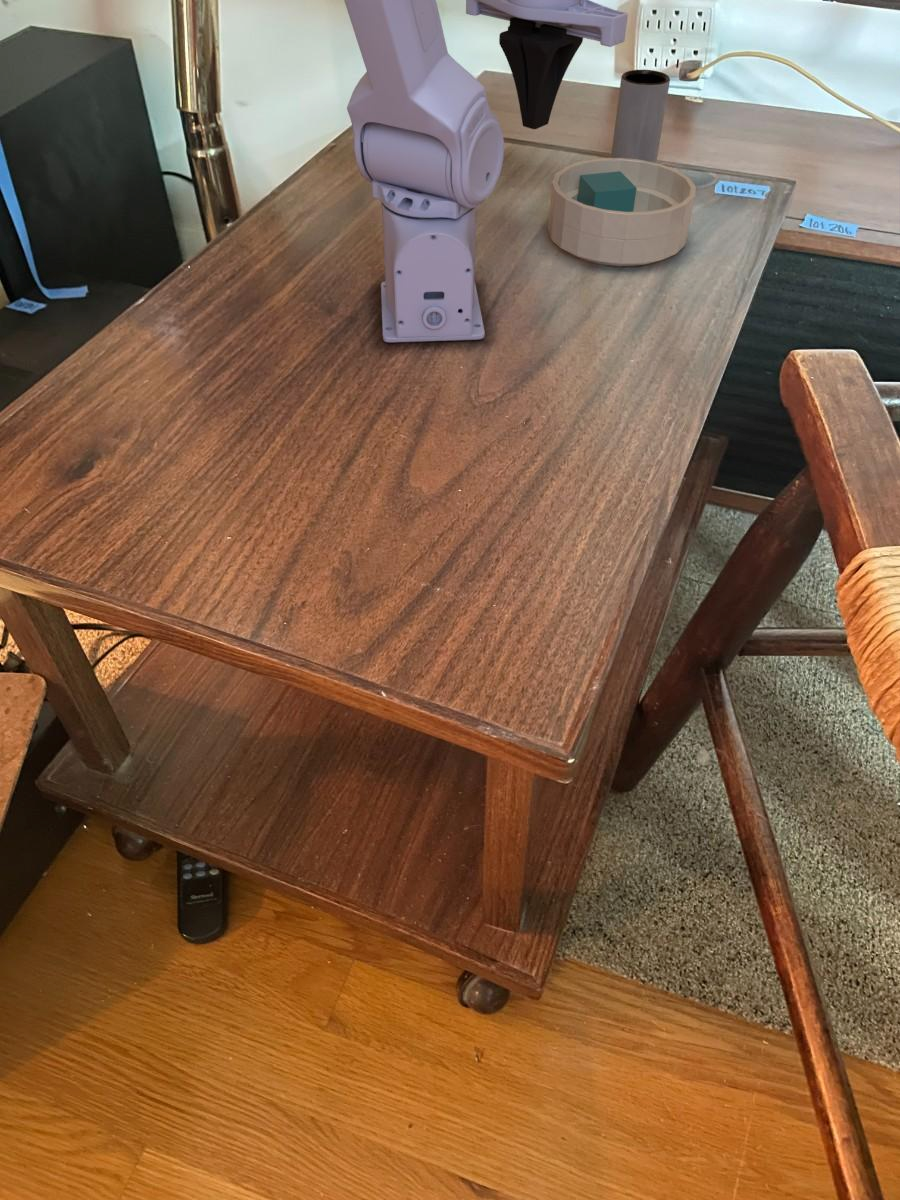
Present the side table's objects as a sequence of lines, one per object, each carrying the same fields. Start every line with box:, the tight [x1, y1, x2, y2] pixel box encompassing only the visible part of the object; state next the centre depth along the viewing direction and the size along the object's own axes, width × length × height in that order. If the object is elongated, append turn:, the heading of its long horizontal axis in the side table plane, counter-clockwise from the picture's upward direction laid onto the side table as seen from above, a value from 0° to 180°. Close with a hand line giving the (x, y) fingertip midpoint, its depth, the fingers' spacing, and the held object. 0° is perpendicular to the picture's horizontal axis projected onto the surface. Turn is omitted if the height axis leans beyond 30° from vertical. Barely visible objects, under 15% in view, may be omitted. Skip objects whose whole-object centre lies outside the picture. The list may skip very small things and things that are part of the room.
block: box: [577, 171, 637, 212], centre depth 82 cm, size 4×4×4 cm
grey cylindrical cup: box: [610, 69, 671, 163], centre depth 87 cm, size 4×4×10 cm
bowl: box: [547, 157, 697, 267], centre depth 81 cm, size 13×13×5 cm
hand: (535, 124), depth 77 cm, fingers closed
